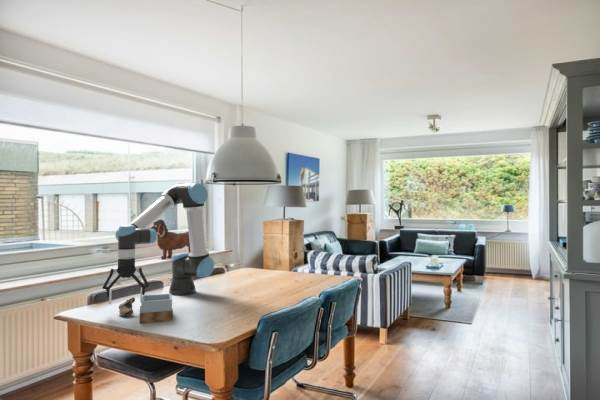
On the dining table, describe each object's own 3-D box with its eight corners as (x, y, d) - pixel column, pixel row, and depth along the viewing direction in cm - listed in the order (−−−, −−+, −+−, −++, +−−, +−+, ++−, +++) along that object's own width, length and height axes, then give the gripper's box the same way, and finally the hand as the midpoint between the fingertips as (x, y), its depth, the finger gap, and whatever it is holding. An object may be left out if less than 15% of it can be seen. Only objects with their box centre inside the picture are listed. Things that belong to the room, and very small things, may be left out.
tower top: (171, 304, 201) (171, 293, 202) (172, 310, 189) (172, 299, 189) (142, 306, 197) (142, 295, 197) (141, 313, 185) (141, 301, 185)
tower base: (171, 314, 202) (171, 303, 202) (172, 321, 189) (172, 310, 189) (140, 316, 197) (140, 306, 197) (139, 325, 184) (139, 313, 184)
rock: (144, 311, 200) (136, 295, 205) (133, 308, 194) (126, 292, 199) (130, 323, 200) (123, 308, 205) (119, 321, 193) (112, 304, 199)
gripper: (154, 256, 207) (153, 299, 207) (98, 257, 198) (97, 302, 198) (154, 257, 200) (153, 302, 199) (96, 259, 191) (95, 306, 191)
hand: (125, 302), depth 199 cm, fingers open, 13 cm apart
